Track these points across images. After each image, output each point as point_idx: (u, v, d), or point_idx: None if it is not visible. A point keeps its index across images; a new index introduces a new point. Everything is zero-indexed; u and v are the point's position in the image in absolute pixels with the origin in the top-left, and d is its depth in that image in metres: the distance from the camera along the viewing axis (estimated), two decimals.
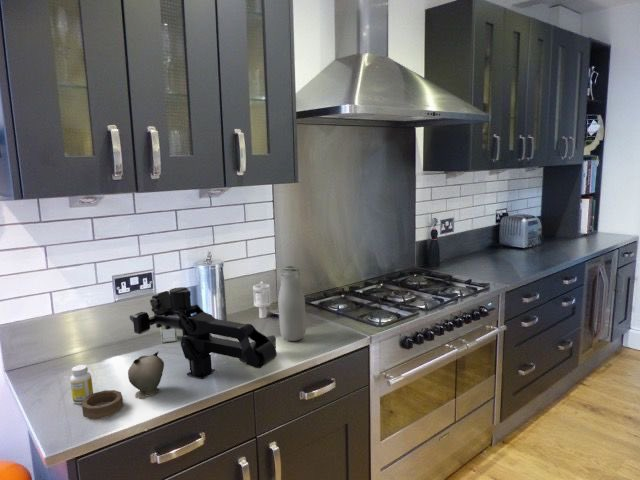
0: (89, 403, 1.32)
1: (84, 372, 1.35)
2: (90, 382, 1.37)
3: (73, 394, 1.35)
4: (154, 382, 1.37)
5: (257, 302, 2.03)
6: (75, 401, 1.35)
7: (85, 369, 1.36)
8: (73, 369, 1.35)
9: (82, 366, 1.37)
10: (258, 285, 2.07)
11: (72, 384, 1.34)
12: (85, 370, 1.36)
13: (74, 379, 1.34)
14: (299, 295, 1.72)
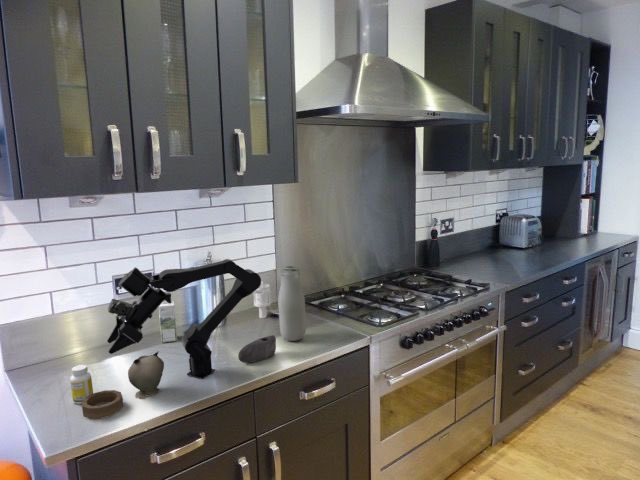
0: (89, 403, 1.32)
1: (84, 372, 1.35)
2: (90, 382, 1.37)
3: (73, 394, 1.35)
4: (154, 382, 1.37)
5: (257, 302, 2.03)
6: (75, 401, 1.35)
7: (85, 369, 1.36)
8: (73, 369, 1.35)
9: (82, 366, 1.37)
10: None
11: (72, 384, 1.34)
12: (85, 370, 1.36)
13: (74, 379, 1.34)
14: (299, 295, 1.72)
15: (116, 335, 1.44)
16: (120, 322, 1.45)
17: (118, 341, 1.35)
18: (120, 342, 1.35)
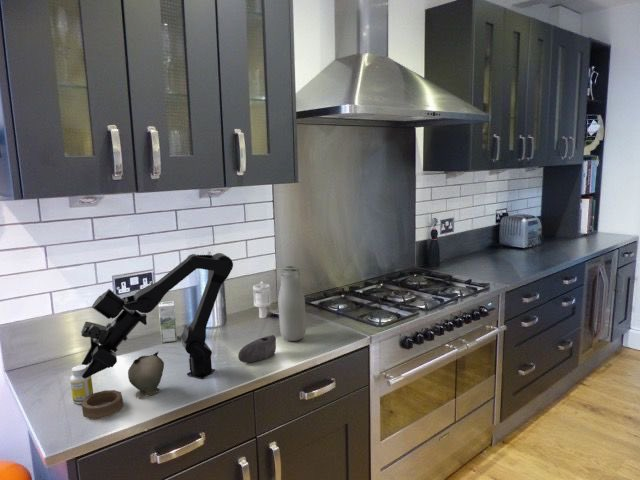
0: (89, 403, 1.32)
1: None
2: (90, 382, 1.37)
3: (73, 394, 1.35)
4: (154, 382, 1.37)
5: (257, 302, 2.03)
6: (75, 401, 1.35)
7: (85, 369, 1.36)
8: (73, 369, 1.35)
9: (82, 366, 1.37)
10: (258, 285, 2.07)
11: (72, 384, 1.34)
12: None
13: (74, 379, 1.34)
14: (299, 295, 1.72)
15: (91, 358, 1.41)
16: (94, 344, 1.42)
17: (92, 365, 1.32)
18: (94, 366, 1.32)
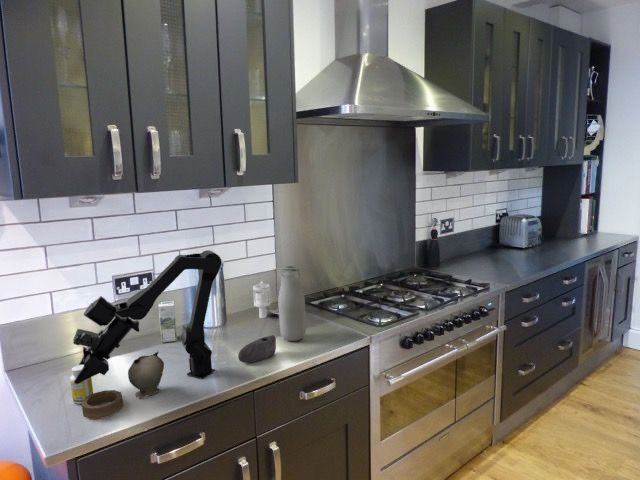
0: (89, 403, 1.32)
1: None
2: (90, 382, 1.37)
3: (73, 394, 1.35)
4: (154, 382, 1.37)
5: (257, 302, 2.03)
6: (75, 401, 1.35)
7: None
8: (73, 369, 1.35)
9: (82, 366, 1.37)
10: (258, 285, 2.07)
11: (72, 384, 1.34)
12: None
13: (74, 379, 1.34)
14: (299, 295, 1.72)
15: None
16: (87, 354, 1.40)
17: (83, 371, 1.33)
18: (86, 372, 1.33)
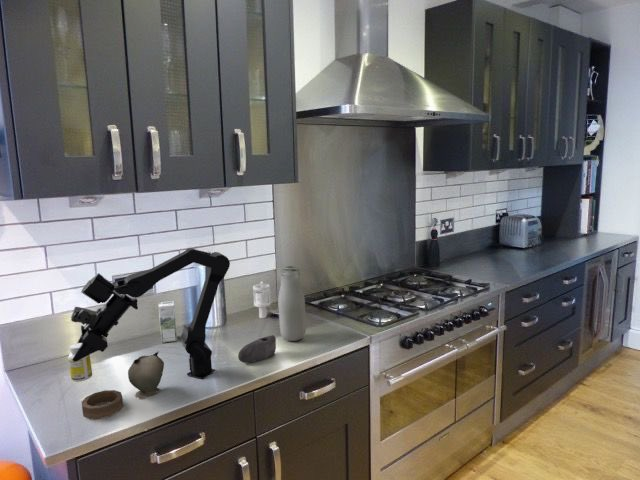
0: (89, 403, 1.32)
1: None
2: (89, 360, 1.35)
3: (71, 372, 1.34)
4: (154, 382, 1.37)
5: (257, 302, 2.03)
6: (74, 379, 1.34)
7: None
8: (71, 347, 1.34)
9: (80, 344, 1.35)
10: (258, 285, 2.07)
11: (70, 362, 1.33)
12: None
13: (72, 357, 1.33)
14: (299, 295, 1.72)
15: None
16: (85, 332, 1.38)
17: (82, 348, 1.31)
18: (84, 349, 1.32)
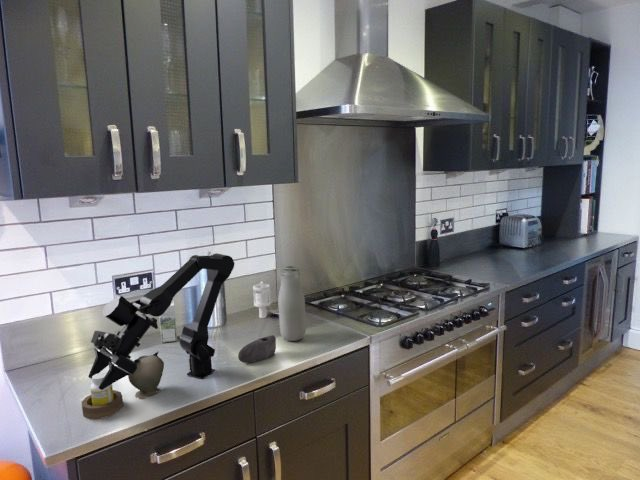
0: (89, 403, 1.32)
1: None
2: (112, 389, 1.32)
3: (95, 404, 1.29)
4: (154, 382, 1.37)
5: (257, 302, 2.03)
6: None
7: None
8: (94, 378, 1.29)
9: (102, 374, 1.31)
10: (258, 285, 2.07)
11: (94, 393, 1.28)
12: None
13: (96, 388, 1.28)
14: (299, 295, 1.72)
15: (97, 369, 1.34)
16: (101, 354, 1.35)
17: (110, 375, 1.26)
18: (111, 376, 1.27)
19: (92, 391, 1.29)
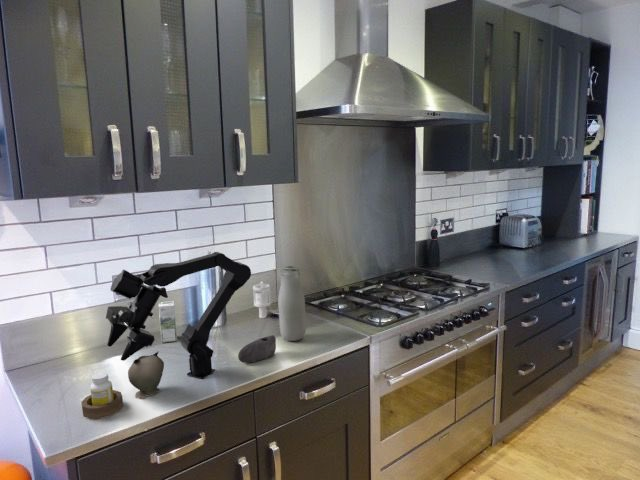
0: (89, 403, 1.32)
1: (106, 379, 1.30)
2: (112, 389, 1.32)
3: (95, 404, 1.29)
4: (154, 382, 1.37)
5: (257, 302, 2.03)
6: None
7: (107, 376, 1.30)
8: (94, 378, 1.29)
9: (102, 374, 1.31)
10: (258, 285, 2.07)
11: (94, 393, 1.28)
12: (107, 377, 1.30)
13: (96, 388, 1.28)
14: (299, 295, 1.72)
15: (115, 337, 1.42)
16: (116, 324, 1.41)
17: (130, 348, 1.34)
18: (131, 348, 1.35)
19: (92, 391, 1.29)
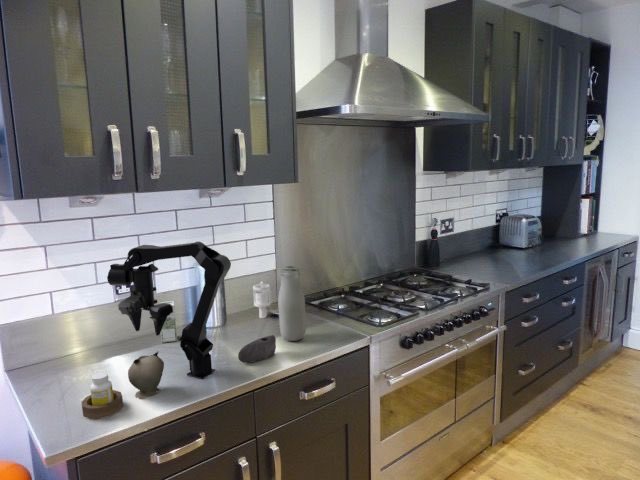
0: (89, 403, 1.32)
1: (106, 380, 1.30)
2: (112, 389, 1.32)
3: (95, 404, 1.29)
4: (154, 382, 1.37)
5: (257, 302, 2.03)
6: None
7: (107, 376, 1.30)
8: (94, 378, 1.29)
9: (102, 374, 1.31)
10: (258, 285, 2.07)
11: (94, 393, 1.28)
12: (107, 377, 1.30)
13: (96, 388, 1.28)
14: (299, 295, 1.72)
15: (138, 321, 1.55)
16: None
17: (158, 323, 1.49)
18: (159, 323, 1.49)
19: (92, 391, 1.29)
